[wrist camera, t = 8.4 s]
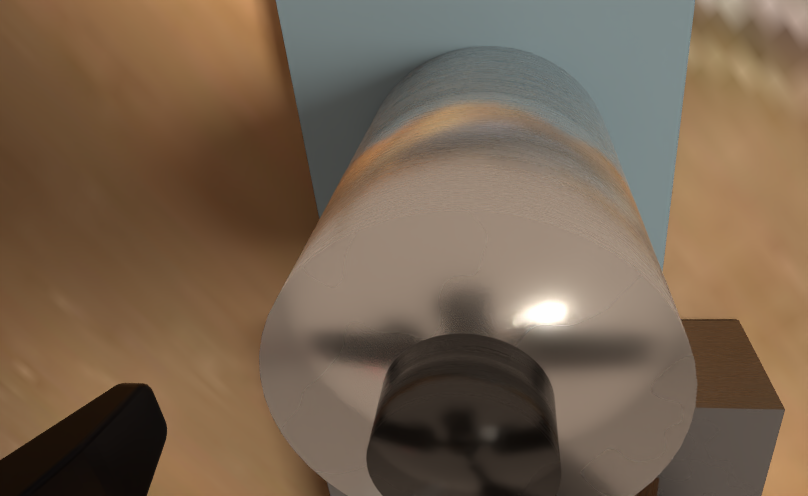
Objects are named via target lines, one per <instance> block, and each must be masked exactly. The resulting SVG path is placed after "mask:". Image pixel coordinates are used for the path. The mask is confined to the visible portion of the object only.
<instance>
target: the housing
mask: <svg viewBox="0 0 808 496" xmlns="http://www.w3.org/2000/svg"><path fill="white" fill-rule="evenodd" d="M681 322H682V324H683V327H684V329H685V332H686V335H687V337H688V340H689V344H690V347H691V350H692V353H693V357H694V360H695V367H696V377H697V394H696V407H695V410H694V414H693V418H692V421H691V425H690V428H689V430H688V432H687V434H686V437H685V439H684V441H683V443H682V445H681V447H680V449H679V450H678V451H677V453H676V454H675V456H674V457H673V459H672V460H671V461H670V463H669V464H668V466H667V467H666V468H665V469H664V470H663V471H662V472H661V473H660V474H659V475H658V476H657V477H656V478H655V479H654V480H653V481H652V482H651V483H650V484H649V485H647V486H646V487H645V488H644V489H642V490H641V491H640V492H639V493H637V494H636V495H635V496H761V495H762V491H763V488H764V484H765V480H766V477H767V473H768V470H769V466H770V462H771V459H772V455H773V451H774V448H775V444H776V440H777V437H778V433H779V430H780V426H781V422H782V419H783V415H784V411H785V409H784V407H783V405H782V403H781V401H780V399H779V397H778V395H777V393H776V391H775V389H774V387H773V386H772V384H771V382H770V380H769V378H768V376H767V374H766V372H765V370H764V368H763V366H762V364H761V362H760V360H759V358H758V357H757V355H756V353H755V351H754V349H753V347H752V345H751V343H750V341H749V339H748V337H747V335H746V333H745V331H744V329H743V328H742V326H741V324H740V322H739V320H681ZM327 484H328V488H329V492H330V496H347V495H346V494H344V493H342V492H341V491H340V490H338V489H337V488H335V487H334V486H332V485H331V484H330V483H328V482H327Z"/></svg>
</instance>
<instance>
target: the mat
mask: <svg viewBox="0 0 808 496" xmlns="http://www.w3.org/2000/svg"><path fill="white" fill-rule="evenodd" d="M276 4H277V9H278V14H279V19H280V24H281V29H282V34H283V39H284V44H285V49H286V54H287V59H288V64H289V69H290V74H291V79H292V84H293V89H294V94H295V99H296V104H297V109H298V114H299V119H300V124H301V129H302V134H303V139H304V144H305V149H306V154H307V159H308V164H309V169H310V174H311V179H312V184H313V189H314V194H315V199H316V204H317V209H318V214H319V219H320V217H321V215H322V214H323V212H324V210H325V208H326V206H327V204H328V203H329V201H330V199H331V197H332V195H333V193H334V191H335V190H336V188H337V186H338V184H339V182H340V180H341V178H342V177H343V175H344V173H345V171H346V169H347V167H348V165H349V164H350V162H351V160H352V158H353V156H354V154H355V153H356V151H357V149H358V147H359V145H360V143H361V141H362V140H363V138H364V136H365V134H366V132H367V130H368V128H369V127H370V125H371V123H372V121H373V119H374V117H375V116H376V114H377V112H378V110H379V108H380V106H381V104H382V103H383V101H384V100H385V99H386V97H387V96H388V94H389V93H390V92H391V90H392V89H393V88H394V87H395V86H396V85H397V84H398V83H399V82H400V81H401V80H402V79H403V78H404V77H405V76H407V75H408V74H409V73H410V72H412V71H413V70H414V69H416V68H417V67H419V66H421V65H422V64H424V63H425V62H427V61H429V60H431V59H433V58H436V57H438V56H440V55H443V54H445V53H448V52H452V51H455V50H459V49H463V48H470V47H477V46H500V47H508V48H515V49H519V50H523V51H526V52H530V53H533V54H535V55H538V56H540V57H543V58H545V59H547V60H549V61H551V62H552V63H554V64H556V65H557V66H559V67H561V68H562V69H564V70H565V71H566V72H567V73H569V74H570V75H571V76H572V77H574V78H575V79H576V80H577V81H578V82H579V83H580V84H581V86H582V87H583V88H584V89H585V90H586V91H587V92H588V94H589V95H590V97H591V98H592V100H593V101H594V102H595V104H596V106H597V108H598V110H599V112H600V114H601V116H602V118H603V120H604V123H605V126H606V128H607V131H608V133H609V136H610V138H611V141H612V144H613V146H614V149H615V151H616V154H617V157H618V159H619V162H620V164H621V167H622V169H623V172H624V175H625V177H626V180H627V182H628V185H629V187H630V190H631V193H632V195H633V198H634V200H635V203H636V206H637V208H638V211H639V213H640V216H641V218H642V221H643V224H644V226H645V229H646V231H647V234H648V237H649V239H650V242H651V244H652V247H653V249H654V252H655V255H656V257H657V260H658V262H659V265H660V267H661V270H662V271H663V262H664V254H665V246H666V237H667V229H668V221H669V212H670V204H671V196H672V187H673V179H674V171H675V163H676V154H677V146H678V138H679V129H680V121H681V113H682V104H683V96H684V88H685V79H686V71H687V63H688V55H689V46H690V38H691V30H692V21H693V13H694V5H695V0H276Z"/></svg>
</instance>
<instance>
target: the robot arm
mask: <svg viewBox="0 0 808 496" xmlns="http://www.w3.org/2000/svg"><path fill="white" fill-rule="evenodd" d="M166 436H167V426H166V422H165V419H164V417H163V414H162V412H161V409H160V407H159V405H158V402H157V400H156V398H155V395H154V393H153V391H152V389H151V388H150V387H149V386H148V385H147V384H143V383H122V384H118V385H116V386H114V387H113V388H111V389H110V390H108V391H107V392H105V393H103V394H102V395H100V396H99V397H97V398H96V399H94V400H93V401H91V402H90V403H88V404H86V405H85V406H83V407H82V408H80V409H79V410H77V411H76V412H74V413H73V414H71V415H69V416H68V417H66V418H65V419H63V420H62V421H60V422H59V423H57V424H56V425H54V426H52V427H51V428H49V429H48V430H46V431H45V432H43V433H42V434H40V435H39V436H37V437H35V438H34V439H32V440H31V441H29V442H28V443H26V444H25V445H23V446H22V447H20V448H18V449H17V450H15V451H14V452H12V453H11V454H9V455H8V456H6V457H5V458H3V459H1V460H0V496H147V493H148V490H149V487H150V484H151V482H152V479H153V476H154V473H155V470H156V467H157V464H158V461H159V458H160V455H161V453H162V450H163V447H164V444H165V440H166Z"/></svg>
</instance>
